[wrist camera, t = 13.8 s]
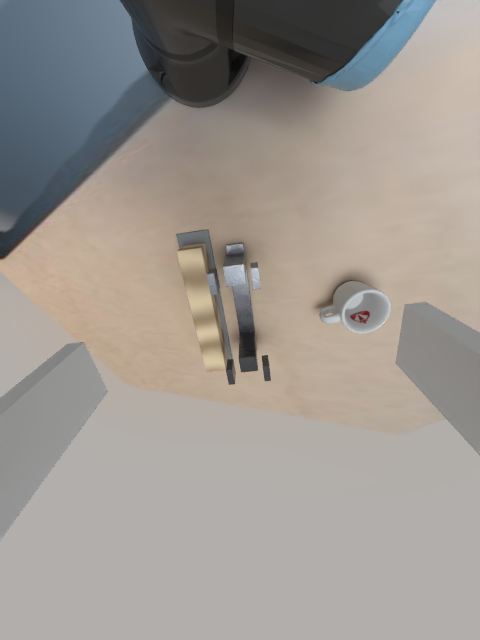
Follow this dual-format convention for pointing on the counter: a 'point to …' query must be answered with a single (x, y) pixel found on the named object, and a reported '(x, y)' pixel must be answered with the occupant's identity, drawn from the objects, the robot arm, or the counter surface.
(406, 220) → the counter surface
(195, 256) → the rail
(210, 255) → the grey base plate
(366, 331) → the cup
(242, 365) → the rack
